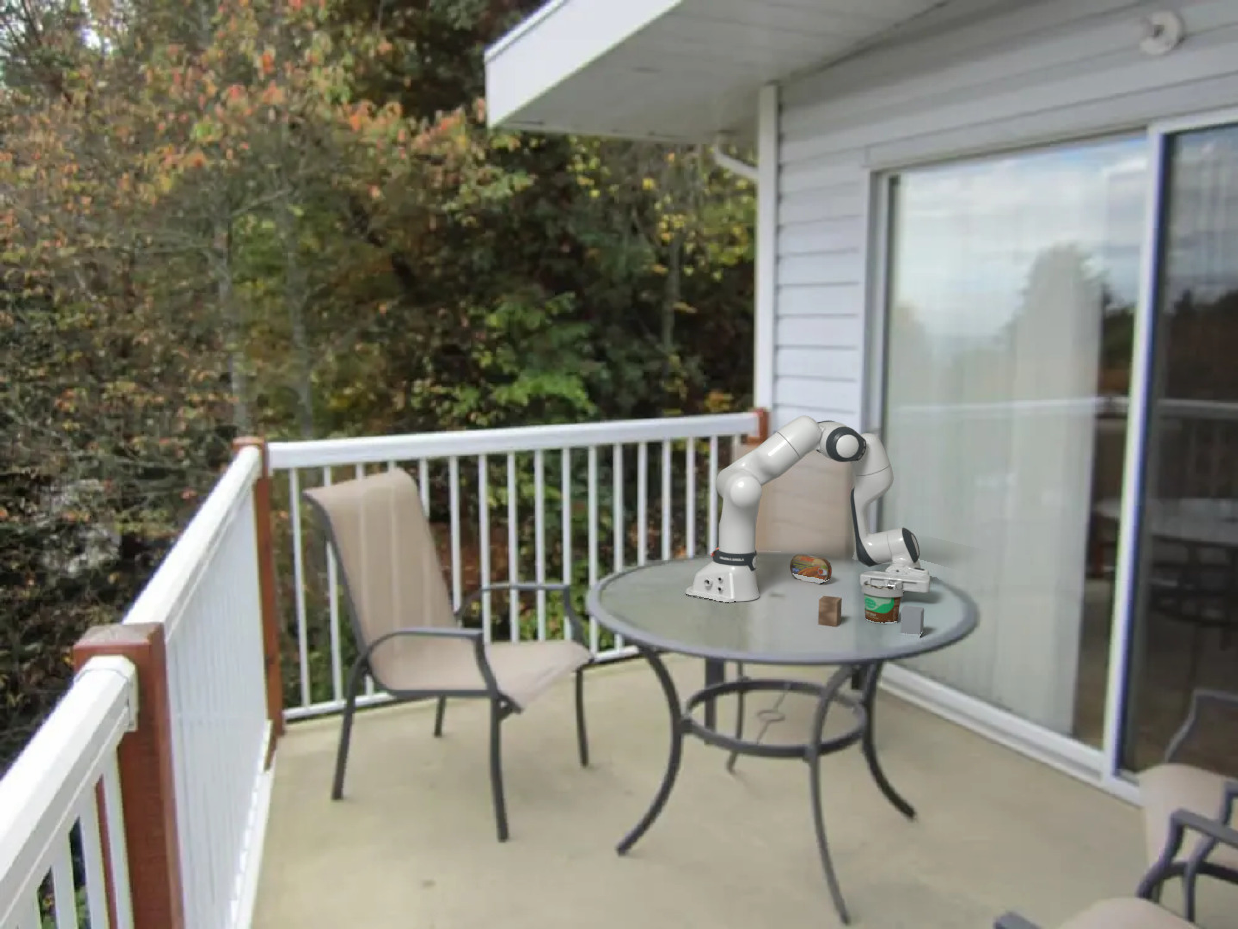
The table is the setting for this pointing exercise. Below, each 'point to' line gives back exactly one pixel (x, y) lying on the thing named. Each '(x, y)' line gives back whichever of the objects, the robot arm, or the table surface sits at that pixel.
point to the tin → (811, 567)
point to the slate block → (912, 620)
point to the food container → (881, 603)
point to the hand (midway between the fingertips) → (889, 587)
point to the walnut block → (829, 611)
